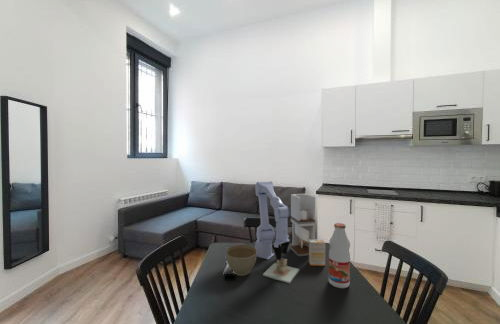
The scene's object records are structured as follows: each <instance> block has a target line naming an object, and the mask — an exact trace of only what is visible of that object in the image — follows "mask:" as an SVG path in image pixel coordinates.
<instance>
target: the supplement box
mask: <svg viewBox="0 0 500 324" xmlns="http://www.w3.org/2000/svg"><path fill="white" fill-rule="evenodd" d="M308 262H309V266H315V267H317V266H319V267H325V266H326V241H325V240H324V239H320V238H319V239H309V255H308Z"/></svg>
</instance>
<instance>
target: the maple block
mask: <svg viewBox="0 0 500 324" xmlns="http://www.w3.org/2000/svg"><path fill="white" fill-rule="evenodd" d="M276 263H277V272H278V273H282V274H285V272H286V271H287V266H288V259H287V258H283V257H281V260H277V259H276Z"/></svg>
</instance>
